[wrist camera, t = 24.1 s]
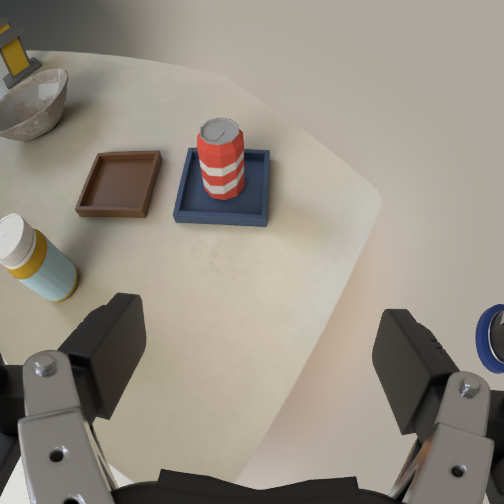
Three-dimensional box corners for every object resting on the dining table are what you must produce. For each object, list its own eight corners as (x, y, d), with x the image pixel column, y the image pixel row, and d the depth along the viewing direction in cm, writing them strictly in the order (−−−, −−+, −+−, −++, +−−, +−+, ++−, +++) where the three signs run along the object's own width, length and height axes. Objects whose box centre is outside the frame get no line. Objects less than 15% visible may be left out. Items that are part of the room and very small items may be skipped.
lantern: (34, 58, 79) (10, -4, 52) (42, 65, 75) (16, -3, 48) (3, 80, 75) (-25, 19, 48) (8, 89, 71) (-24, 22, 44)
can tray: (269, 158, 53) (269, 150, 51) (266, 227, 47) (266, 219, 45) (190, 156, 53) (188, 147, 52) (175, 222, 47) (172, 215, 46)
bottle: (83, 261, 44) (33, 208, 31) (75, 304, 41) (17, 262, 28) (48, 261, 44) (-4, 212, 31) (40, 302, 41) (-20, 262, 28)
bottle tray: (162, 158, 53) (159, 150, 51) (145, 218, 48) (142, 210, 46) (101, 160, 53) (97, 153, 52) (79, 216, 48) (74, 209, 46)
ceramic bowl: (43, 167, 53) (21, 135, 44) (-8, 156, 56) (-27, 130, 47) (99, 98, 63) (87, 65, 54) (42, 96, 66) (29, 70, 57)
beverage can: (197, 192, 49) (185, 137, 38) (220, 165, 52) (214, 110, 41) (229, 209, 48) (224, 153, 37) (251, 180, 50) (252, 124, 39)
